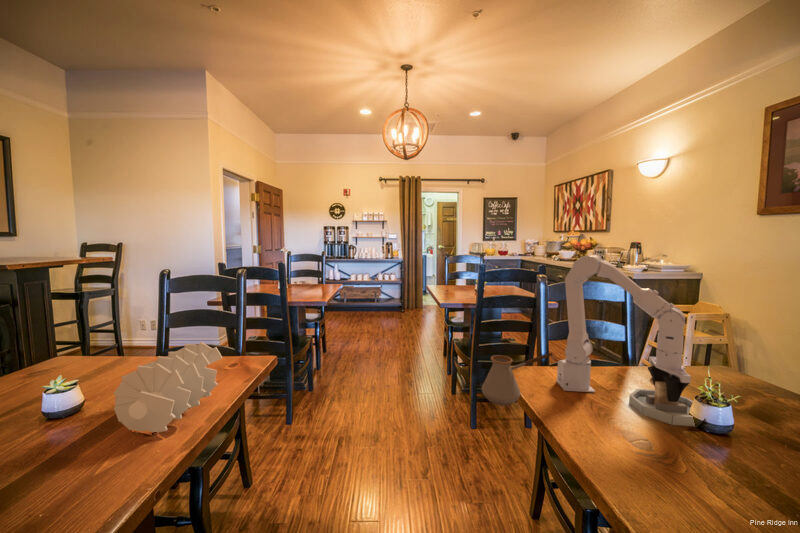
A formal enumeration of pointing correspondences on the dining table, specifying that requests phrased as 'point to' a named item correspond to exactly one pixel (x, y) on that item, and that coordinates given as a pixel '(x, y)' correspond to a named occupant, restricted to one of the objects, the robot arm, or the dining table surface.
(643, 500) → the dining table surface
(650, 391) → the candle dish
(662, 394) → the pine wood chunk
